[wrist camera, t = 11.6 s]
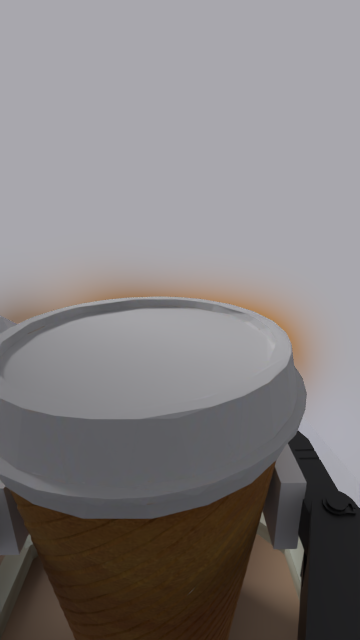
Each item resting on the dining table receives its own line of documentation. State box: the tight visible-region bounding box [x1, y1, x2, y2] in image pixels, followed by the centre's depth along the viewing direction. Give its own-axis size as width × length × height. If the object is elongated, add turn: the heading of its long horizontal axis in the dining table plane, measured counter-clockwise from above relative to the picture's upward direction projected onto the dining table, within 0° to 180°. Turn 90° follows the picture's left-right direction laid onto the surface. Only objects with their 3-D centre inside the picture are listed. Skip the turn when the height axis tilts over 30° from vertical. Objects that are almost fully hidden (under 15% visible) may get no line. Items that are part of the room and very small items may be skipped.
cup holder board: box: [0, 511, 304, 640], centre depth 14 cm, size 16×16×2 cm
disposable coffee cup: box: [0, 297, 307, 640], centre depth 12 cm, size 10×10×12 cm
